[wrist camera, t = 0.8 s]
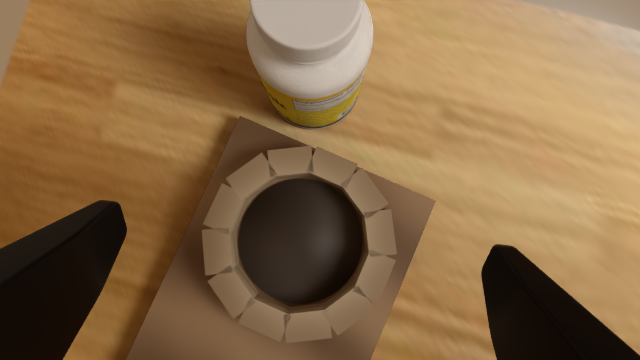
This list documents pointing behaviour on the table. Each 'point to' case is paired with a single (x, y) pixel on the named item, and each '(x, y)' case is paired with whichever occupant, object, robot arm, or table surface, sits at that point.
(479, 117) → the table surface
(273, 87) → the supplement bottle
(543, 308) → the robot arm
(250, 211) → the board
